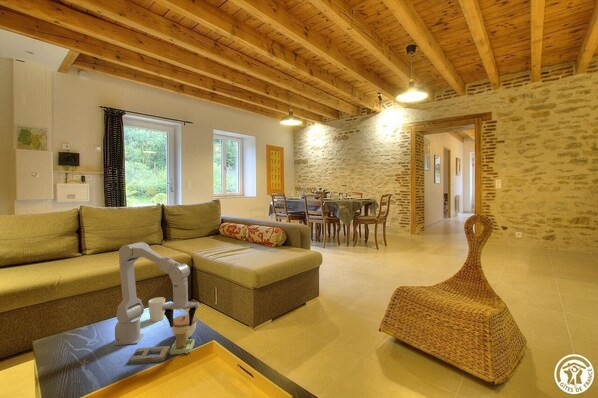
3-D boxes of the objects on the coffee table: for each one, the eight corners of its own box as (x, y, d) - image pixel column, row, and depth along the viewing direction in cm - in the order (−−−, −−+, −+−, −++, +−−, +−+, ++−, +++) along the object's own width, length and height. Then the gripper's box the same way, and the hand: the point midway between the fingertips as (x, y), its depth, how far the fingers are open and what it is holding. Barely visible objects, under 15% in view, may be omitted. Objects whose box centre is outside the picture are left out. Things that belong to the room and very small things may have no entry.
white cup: (154, 323, 147) (153, 304, 147) (145, 320, 151) (145, 301, 151) (168, 317, 154) (168, 299, 153) (160, 314, 158) (159, 296, 158)
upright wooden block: (176, 350, 121) (175, 334, 121) (178, 345, 125) (178, 329, 125) (186, 349, 121) (185, 333, 121) (188, 344, 125) (188, 328, 125)
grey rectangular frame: (128, 363, 113) (128, 359, 113) (137, 352, 121) (137, 348, 121) (163, 360, 115) (163, 356, 115) (170, 349, 123) (170, 345, 123)
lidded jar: (180, 344, 127) (179, 323, 126) (167, 337, 133) (166, 317, 133) (201, 334, 135) (201, 314, 135) (188, 328, 142) (187, 309, 141)
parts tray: (169, 354, 119) (169, 350, 119) (175, 344, 127) (175, 340, 127) (190, 353, 120) (190, 348, 120) (194, 343, 128) (194, 338, 128)
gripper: (159, 298, 118) (160, 331, 118) (196, 296, 120) (197, 329, 120) (164, 292, 125) (165, 323, 125) (199, 290, 127) (200, 321, 127)
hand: (181, 325), depth 123 cm, fingers open, 7 cm apart
